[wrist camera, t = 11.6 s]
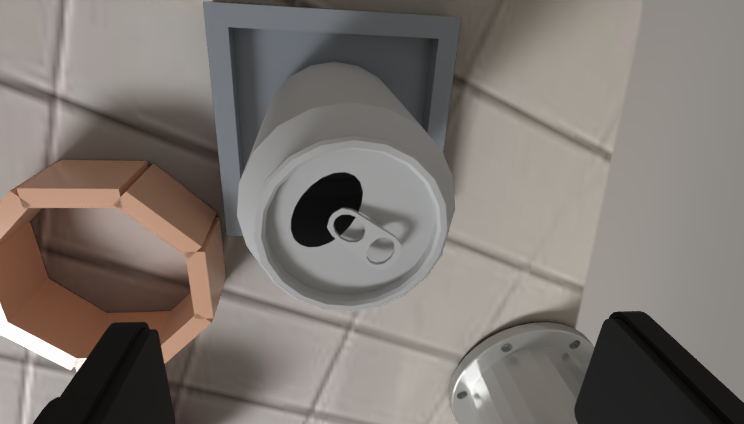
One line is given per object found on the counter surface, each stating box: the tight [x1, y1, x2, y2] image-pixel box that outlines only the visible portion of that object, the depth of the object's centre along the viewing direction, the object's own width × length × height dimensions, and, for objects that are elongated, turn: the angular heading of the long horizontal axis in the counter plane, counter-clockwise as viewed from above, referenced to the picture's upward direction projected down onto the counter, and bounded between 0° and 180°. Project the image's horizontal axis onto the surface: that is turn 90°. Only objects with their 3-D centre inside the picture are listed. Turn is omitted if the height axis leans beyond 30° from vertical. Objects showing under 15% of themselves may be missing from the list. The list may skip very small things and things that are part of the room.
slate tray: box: [203, 1, 461, 236], centre depth 23 cm, size 12×12×2 cm
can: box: [237, 62, 455, 311], centre depth 19 cm, size 8×8×12 cm
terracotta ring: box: [0, 160, 226, 372], centre depth 24 cm, size 12×12×4 cm
